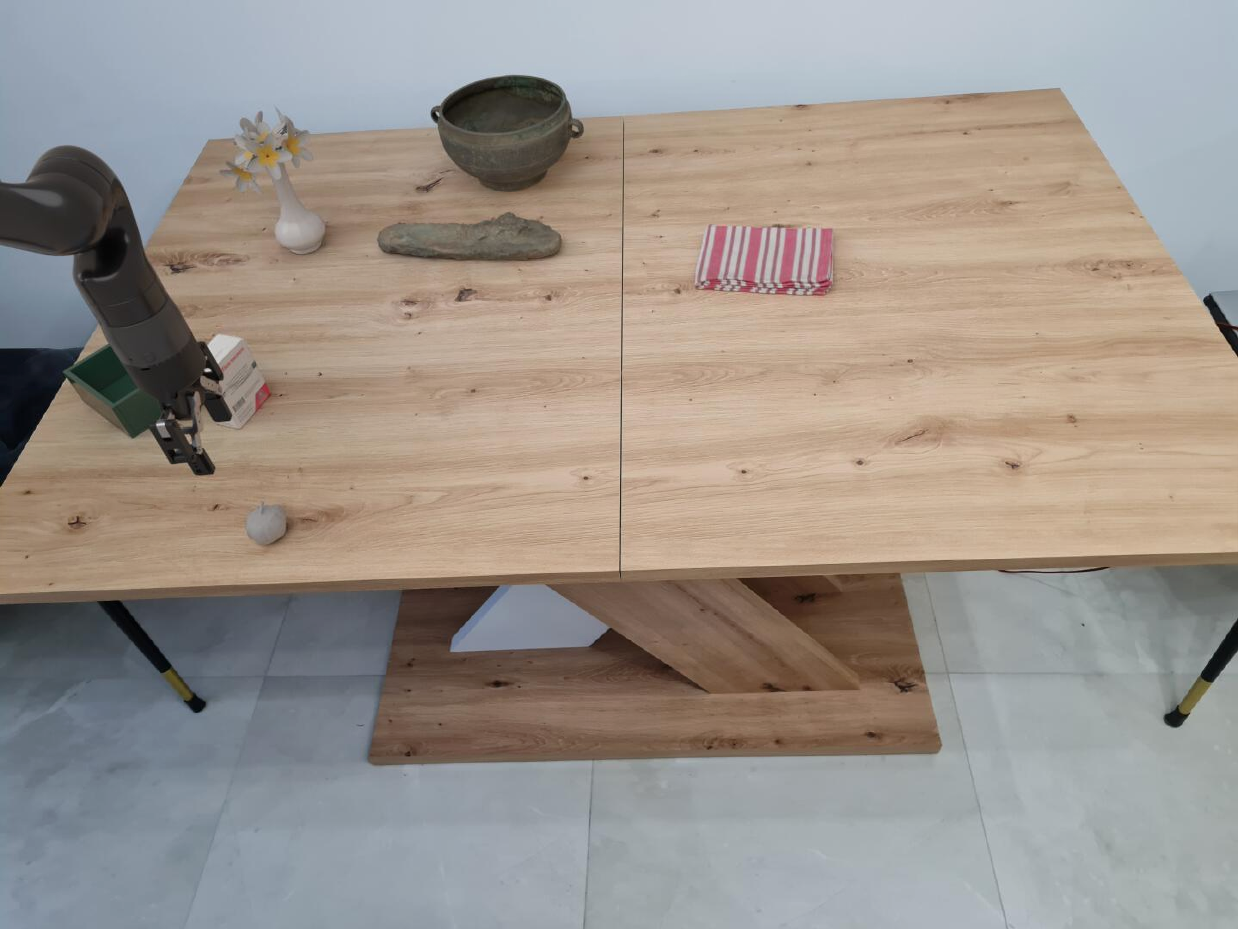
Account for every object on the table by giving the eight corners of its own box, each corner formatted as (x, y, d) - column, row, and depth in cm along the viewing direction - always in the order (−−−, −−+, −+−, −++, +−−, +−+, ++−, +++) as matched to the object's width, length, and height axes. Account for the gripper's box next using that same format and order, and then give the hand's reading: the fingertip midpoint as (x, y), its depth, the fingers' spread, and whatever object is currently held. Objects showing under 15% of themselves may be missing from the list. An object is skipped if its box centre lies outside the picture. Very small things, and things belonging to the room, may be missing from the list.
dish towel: (832, 297, 150) (834, 280, 147) (692, 290, 154) (692, 273, 151) (833, 238, 161) (835, 221, 159) (703, 233, 165) (703, 216, 162)
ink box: (247, 387, 145) (217, 330, 136) (272, 393, 144) (244, 336, 135) (214, 424, 140) (181, 367, 131) (240, 430, 138) (209, 373, 130)
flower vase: (254, 276, 166) (198, 150, 147) (293, 219, 178) (245, 96, 159) (321, 278, 164) (272, 151, 145) (355, 220, 176) (314, 96, 157)
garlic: (268, 513, 127) (254, 489, 123) (300, 522, 125) (288, 498, 121) (243, 546, 123) (228, 522, 119) (276, 555, 122) (262, 532, 118)
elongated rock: (392, 235, 174) (376, 268, 168) (382, 211, 170) (366, 245, 164) (567, 231, 167) (557, 266, 161) (562, 207, 163) (552, 241, 157)
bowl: (608, 147, 188) (602, 76, 177) (566, 216, 172) (557, 143, 160) (467, 134, 196) (453, 65, 185) (415, 199, 180) (396, 128, 168)
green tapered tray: (132, 439, 139) (111, 408, 134) (83, 401, 145) (62, 371, 141) (211, 385, 146) (194, 354, 141) (161, 351, 153) (144, 321, 148)
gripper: (137, 300, 98) (199, 406, 111) (94, 390, 89) (167, 495, 101) (205, 294, 98) (259, 400, 110) (169, 383, 89) (233, 489, 101)
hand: (215, 445), depth 106 cm, fingers open, 8 cm apart
